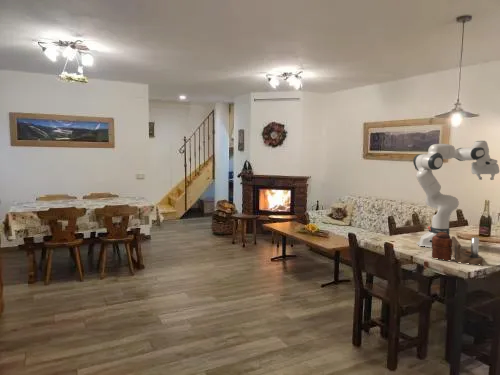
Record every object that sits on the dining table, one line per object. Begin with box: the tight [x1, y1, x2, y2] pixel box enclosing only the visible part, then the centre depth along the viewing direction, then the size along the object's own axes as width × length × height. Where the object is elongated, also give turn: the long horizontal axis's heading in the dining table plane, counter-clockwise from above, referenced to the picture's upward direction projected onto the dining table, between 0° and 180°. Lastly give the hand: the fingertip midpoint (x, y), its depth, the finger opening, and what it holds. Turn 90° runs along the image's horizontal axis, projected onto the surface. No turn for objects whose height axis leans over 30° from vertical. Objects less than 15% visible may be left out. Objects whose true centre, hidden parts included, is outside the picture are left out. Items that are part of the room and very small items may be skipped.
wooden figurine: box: [431, 232, 453, 261], centre depth 232 cm, size 12×6×18 cm, turn 57°
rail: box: [451, 235, 484, 266], centre depth 233 cm, size 14×24×12 cm, turn 159°
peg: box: [470, 236, 480, 258], centre depth 223 cm, size 4×4×12 cm
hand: (486, 179), depth 269 cm, fingers open, 8 cm apart
